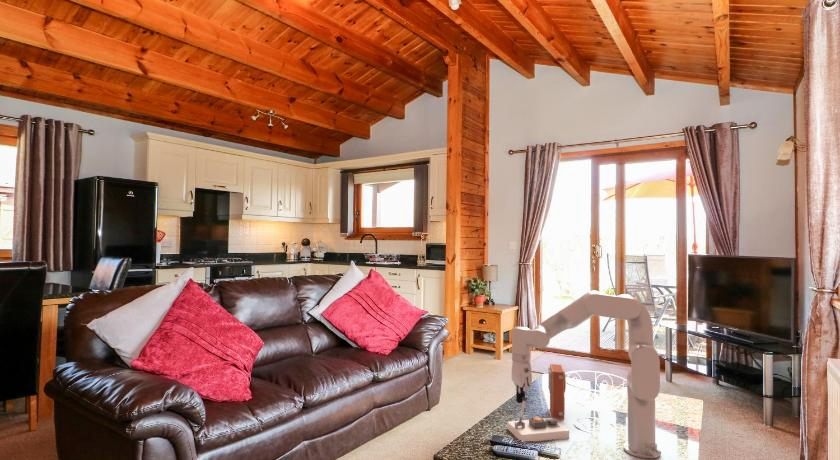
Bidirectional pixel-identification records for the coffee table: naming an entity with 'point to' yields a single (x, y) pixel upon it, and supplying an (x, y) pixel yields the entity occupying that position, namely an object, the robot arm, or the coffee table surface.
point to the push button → (537, 419)
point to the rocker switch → (552, 421)
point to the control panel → (557, 391)
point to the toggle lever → (522, 411)
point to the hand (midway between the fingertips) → (520, 402)
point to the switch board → (537, 430)
